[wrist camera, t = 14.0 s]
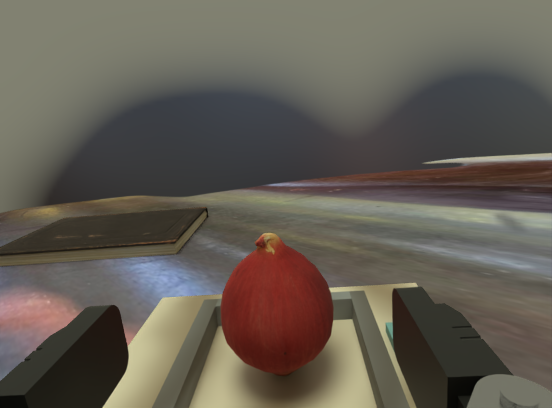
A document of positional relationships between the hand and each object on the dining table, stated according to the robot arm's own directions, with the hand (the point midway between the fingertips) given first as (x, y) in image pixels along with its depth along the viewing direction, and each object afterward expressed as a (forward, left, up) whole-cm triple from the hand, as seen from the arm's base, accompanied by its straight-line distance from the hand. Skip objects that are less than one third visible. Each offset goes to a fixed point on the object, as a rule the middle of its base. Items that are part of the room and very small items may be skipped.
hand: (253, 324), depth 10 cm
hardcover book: (-44, 0, -9) cm, 45 cm away
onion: (-6, +4, -8) cm, 11 cm away
